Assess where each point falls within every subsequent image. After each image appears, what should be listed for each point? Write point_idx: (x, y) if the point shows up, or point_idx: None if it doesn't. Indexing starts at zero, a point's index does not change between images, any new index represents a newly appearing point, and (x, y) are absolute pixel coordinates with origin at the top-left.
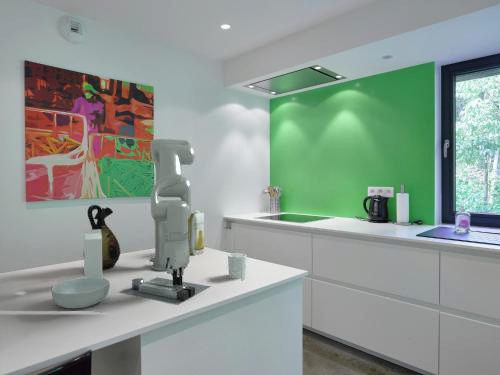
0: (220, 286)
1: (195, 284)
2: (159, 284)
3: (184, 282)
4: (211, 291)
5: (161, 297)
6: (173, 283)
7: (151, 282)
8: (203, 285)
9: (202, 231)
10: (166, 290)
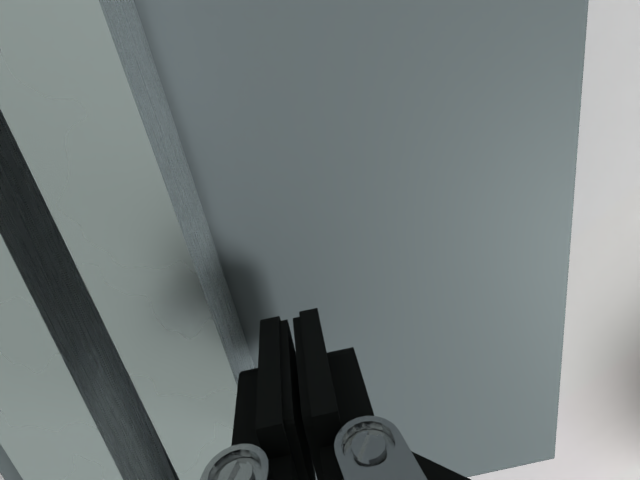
0: (627, 446)
1: (545, 328)
2: (68, 247)
3: (556, 181)
4: (492, 473)
5: None
6: (240, 379)
7: (5, 21)
8: (549, 402)
9: None
10: (27, 476)
